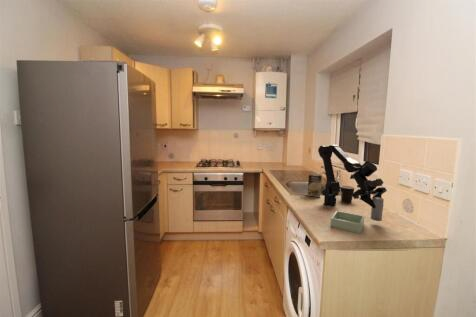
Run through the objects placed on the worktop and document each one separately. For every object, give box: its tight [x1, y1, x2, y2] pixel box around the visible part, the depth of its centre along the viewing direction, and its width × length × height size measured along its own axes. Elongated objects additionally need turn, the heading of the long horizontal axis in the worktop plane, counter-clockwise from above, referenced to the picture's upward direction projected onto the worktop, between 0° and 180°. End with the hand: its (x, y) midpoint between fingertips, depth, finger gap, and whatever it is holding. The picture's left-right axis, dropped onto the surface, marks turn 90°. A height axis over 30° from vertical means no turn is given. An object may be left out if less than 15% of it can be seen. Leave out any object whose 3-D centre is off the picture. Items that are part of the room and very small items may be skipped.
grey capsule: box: [370, 196, 385, 222], centre depth 119 cm, size 5×5×11 cm
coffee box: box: [306, 173, 323, 198], centre depth 170 cm, size 9×6×16 cm
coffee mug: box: [340, 185, 355, 204], centre depth 160 cm, size 12×9×10 cm
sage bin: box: [330, 210, 365, 234], centre depth 118 cm, size 14×14×4 cm
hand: (378, 207), depth 118 cm, fingers closed on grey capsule, 5 cm apart
